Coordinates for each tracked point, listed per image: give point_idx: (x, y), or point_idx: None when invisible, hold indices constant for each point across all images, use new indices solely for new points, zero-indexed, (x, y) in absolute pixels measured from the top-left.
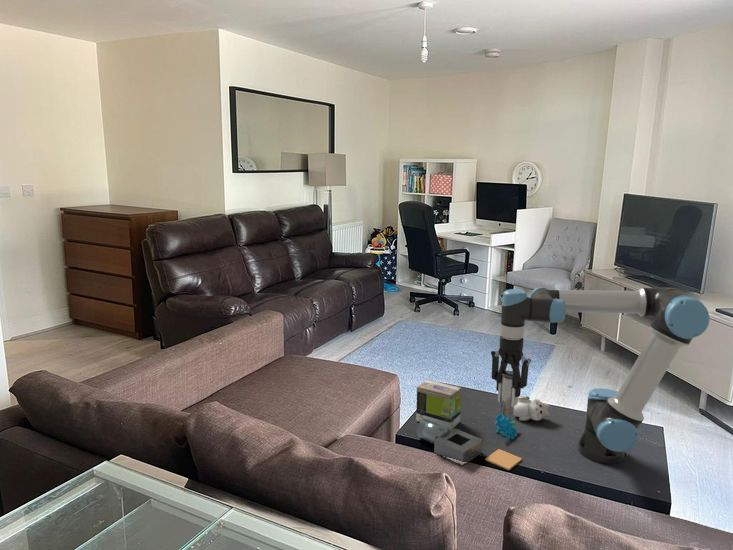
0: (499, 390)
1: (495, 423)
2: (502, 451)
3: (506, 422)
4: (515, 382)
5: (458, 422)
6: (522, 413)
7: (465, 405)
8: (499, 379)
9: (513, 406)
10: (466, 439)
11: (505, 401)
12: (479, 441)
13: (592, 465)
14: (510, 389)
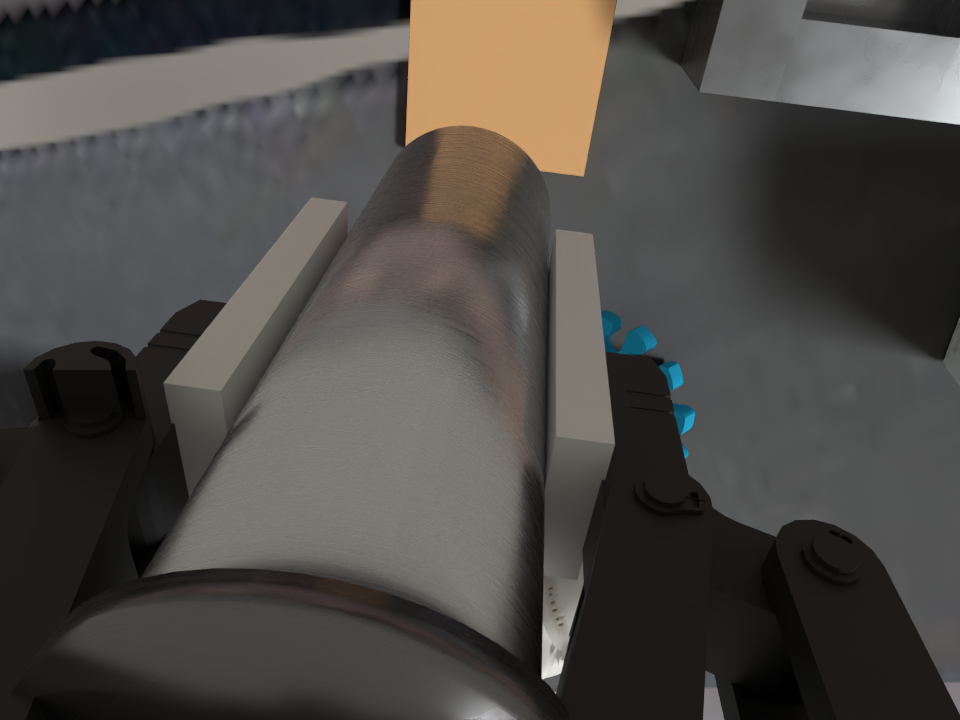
0: (575, 336)
1: (677, 366)
2: (549, 159)
3: None
4: (60, 509)
5: (952, 346)
6: (582, 570)
7: (941, 544)
8: (612, 535)
9: (310, 204)
10: (841, 21)
11: (424, 200)
12: (715, 41)
13: (104, 331)
14: (281, 353)
